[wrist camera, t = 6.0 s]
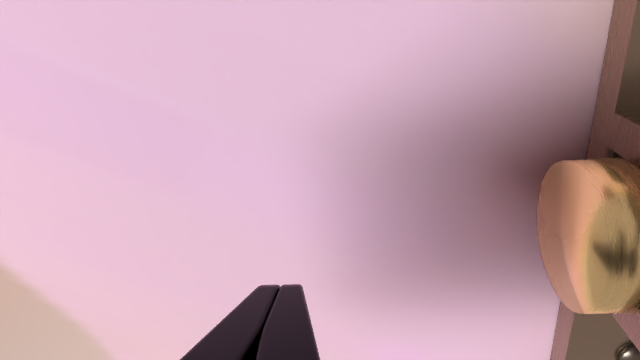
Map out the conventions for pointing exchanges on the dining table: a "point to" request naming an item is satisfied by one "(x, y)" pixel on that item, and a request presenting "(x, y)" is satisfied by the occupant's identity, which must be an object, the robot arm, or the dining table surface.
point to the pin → (592, 234)
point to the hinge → (610, 142)
